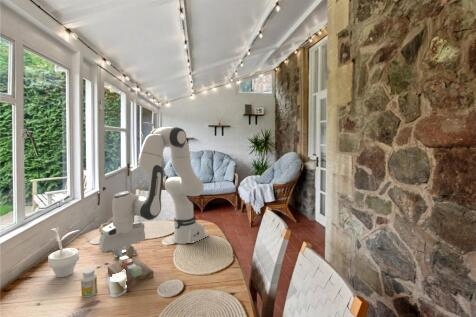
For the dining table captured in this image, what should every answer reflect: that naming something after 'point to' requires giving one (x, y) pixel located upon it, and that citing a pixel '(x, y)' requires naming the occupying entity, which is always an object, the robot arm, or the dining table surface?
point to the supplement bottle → (88, 283)
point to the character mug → (103, 227)
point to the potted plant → (63, 257)
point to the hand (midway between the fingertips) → (123, 254)
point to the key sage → (136, 271)
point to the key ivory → (122, 259)
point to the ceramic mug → (130, 251)
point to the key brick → (127, 263)
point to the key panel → (131, 281)
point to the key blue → (130, 268)
